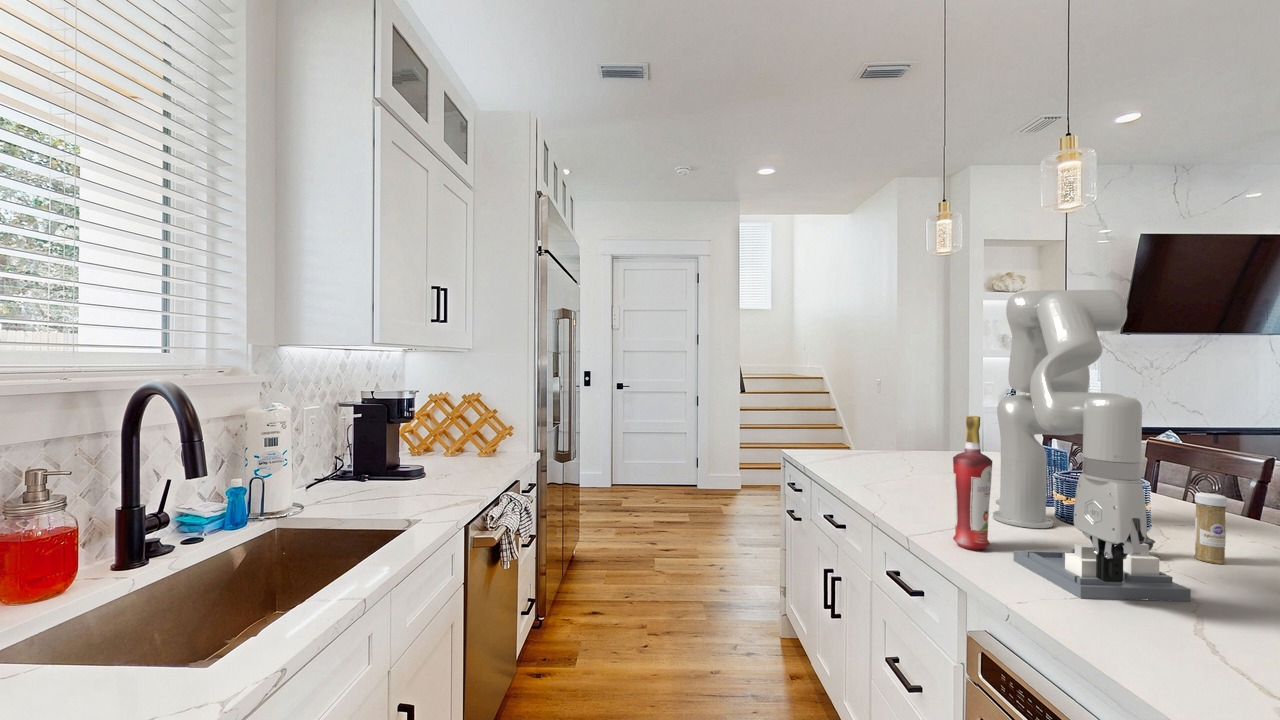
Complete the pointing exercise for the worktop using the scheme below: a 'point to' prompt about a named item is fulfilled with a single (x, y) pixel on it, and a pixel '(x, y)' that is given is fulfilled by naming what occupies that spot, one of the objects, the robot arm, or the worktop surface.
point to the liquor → (972, 491)
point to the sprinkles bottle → (1210, 528)
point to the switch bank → (1094, 588)
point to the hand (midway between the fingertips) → (1109, 579)
